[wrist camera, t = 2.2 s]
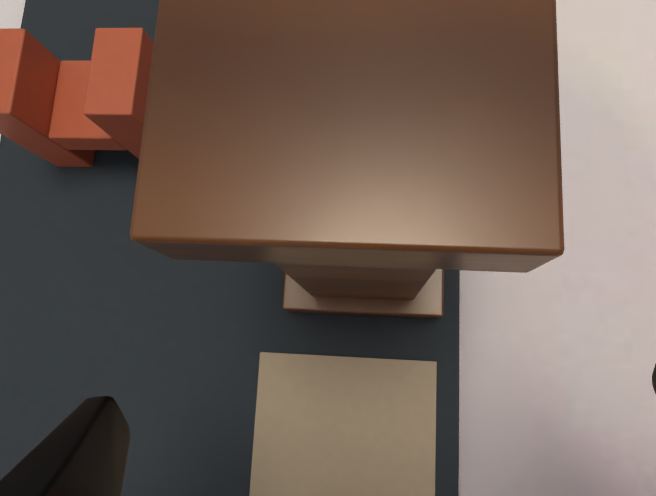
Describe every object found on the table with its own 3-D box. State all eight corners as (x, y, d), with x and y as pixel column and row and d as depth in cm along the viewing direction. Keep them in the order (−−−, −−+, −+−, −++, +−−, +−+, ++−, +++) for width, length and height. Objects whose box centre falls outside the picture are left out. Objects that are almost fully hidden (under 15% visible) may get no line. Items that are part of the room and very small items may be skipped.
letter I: (438, 319, 19) (567, 255, 6) (288, 312, 19) (125, 241, 7) (439, 212, 20) (556, -39, 7) (295, 208, 20) (160, -32, 8)
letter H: (188, 169, 21) (131, 114, 16) (56, 167, 21) (-38, 113, 17) (195, 100, 22) (143, 26, 17) (67, 99, 22) (-21, 27, 17)
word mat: (456, 541, 18) (459, 547, 17) (-57, 497, 20) (-68, 500, 19) (461, -360, 25) (462, -374, 25) (90, -332, 27) (85, -344, 27)
